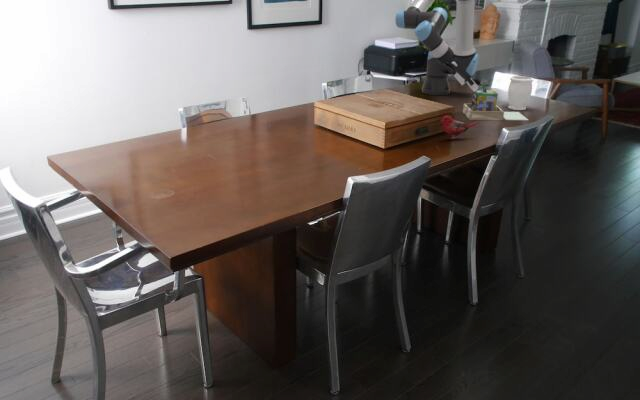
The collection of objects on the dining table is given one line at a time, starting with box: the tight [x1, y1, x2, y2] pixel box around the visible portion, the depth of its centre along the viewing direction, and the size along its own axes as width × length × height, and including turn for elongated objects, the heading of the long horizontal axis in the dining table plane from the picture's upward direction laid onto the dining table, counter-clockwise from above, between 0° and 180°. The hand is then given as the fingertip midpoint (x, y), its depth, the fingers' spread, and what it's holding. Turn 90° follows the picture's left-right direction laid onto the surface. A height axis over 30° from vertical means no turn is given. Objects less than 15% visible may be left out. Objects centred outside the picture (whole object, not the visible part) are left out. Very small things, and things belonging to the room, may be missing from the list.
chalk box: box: [471, 83, 498, 111], centre depth 241 cm, size 9×9×15 cm
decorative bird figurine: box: [439, 115, 480, 140], centre depth 209 cm, size 3×18×10 cm, turn 106°
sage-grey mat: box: [503, 111, 529, 122], centre depth 244 cm, size 14×10×1 cm
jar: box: [507, 75, 534, 111], centre depth 255 cm, size 11×10×15 cm
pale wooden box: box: [462, 103, 505, 121], centre depth 243 cm, size 15×15×4 cm
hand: (470, 86), depth 237 cm, fingers open, 13 cm apart
